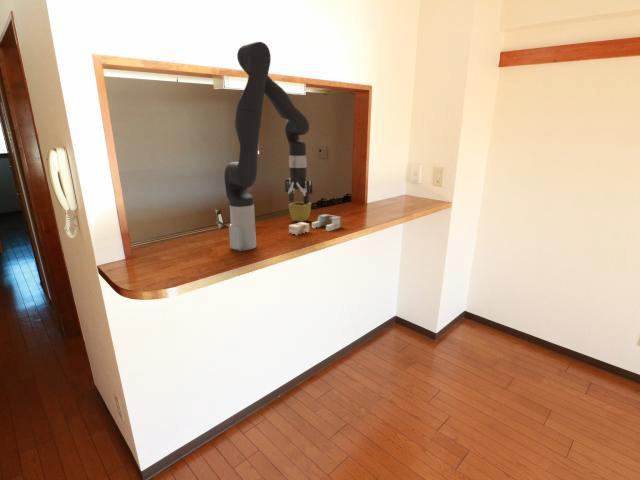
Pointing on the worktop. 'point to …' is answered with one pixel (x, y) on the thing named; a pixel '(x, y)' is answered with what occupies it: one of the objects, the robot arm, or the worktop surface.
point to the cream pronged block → (298, 228)
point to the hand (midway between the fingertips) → (298, 203)
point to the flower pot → (299, 211)
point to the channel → (328, 222)
